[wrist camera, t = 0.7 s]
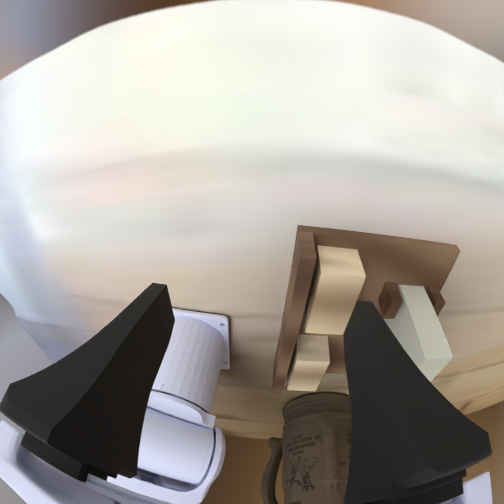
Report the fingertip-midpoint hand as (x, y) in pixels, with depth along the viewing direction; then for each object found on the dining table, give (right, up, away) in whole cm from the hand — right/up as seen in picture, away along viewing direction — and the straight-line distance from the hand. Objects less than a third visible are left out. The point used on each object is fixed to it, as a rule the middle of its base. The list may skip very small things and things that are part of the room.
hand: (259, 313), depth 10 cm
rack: (+10, -4, +14) cm, 17 cm away
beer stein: (+9, -22, +27) cm, 36 cm away
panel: (+13, -5, +13) cm, 19 cm away
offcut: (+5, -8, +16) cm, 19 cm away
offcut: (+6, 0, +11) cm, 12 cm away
